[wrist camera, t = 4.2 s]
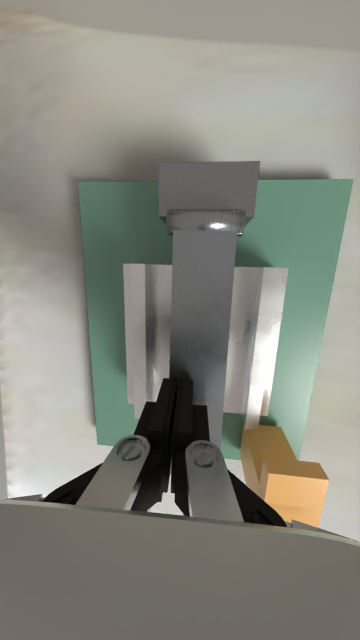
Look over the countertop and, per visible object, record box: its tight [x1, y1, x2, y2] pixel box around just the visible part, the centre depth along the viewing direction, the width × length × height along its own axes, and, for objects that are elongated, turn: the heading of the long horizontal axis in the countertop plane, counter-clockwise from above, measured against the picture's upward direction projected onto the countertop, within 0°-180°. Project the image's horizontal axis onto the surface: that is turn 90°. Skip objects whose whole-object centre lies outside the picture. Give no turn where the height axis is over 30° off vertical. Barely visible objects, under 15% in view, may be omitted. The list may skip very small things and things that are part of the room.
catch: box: [240, 423, 329, 528], centre depth 15 cm, size 3×5×6 cm, turn 178°
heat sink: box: [123, 161, 289, 430], centre depth 14 cm, size 10×15×4 cm, turn 178°
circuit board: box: [78, 179, 353, 461], centre depth 17 cm, size 18×22×2 cm
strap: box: [167, 209, 246, 474], centre depth 12 cm, size 15×4×1 cm, turn 178°
